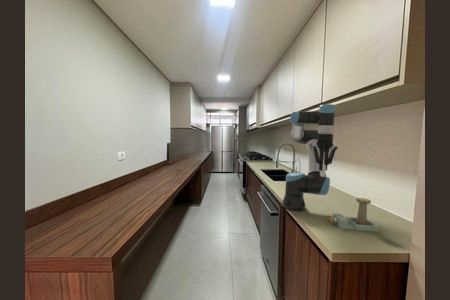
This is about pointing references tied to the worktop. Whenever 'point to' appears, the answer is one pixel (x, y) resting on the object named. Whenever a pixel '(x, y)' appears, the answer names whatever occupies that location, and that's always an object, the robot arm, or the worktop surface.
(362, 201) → the handle
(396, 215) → the worktop surface
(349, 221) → the dock
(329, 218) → the lock pin
